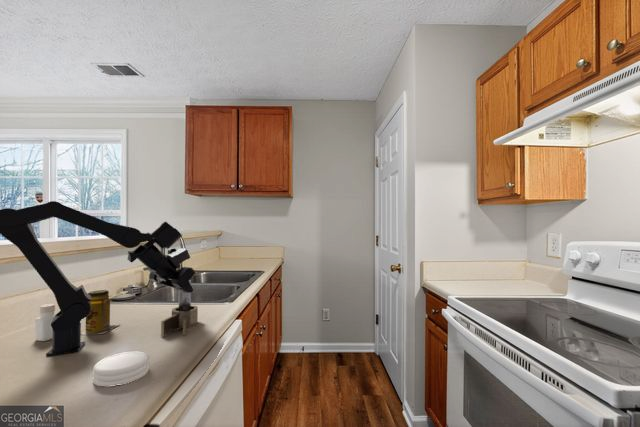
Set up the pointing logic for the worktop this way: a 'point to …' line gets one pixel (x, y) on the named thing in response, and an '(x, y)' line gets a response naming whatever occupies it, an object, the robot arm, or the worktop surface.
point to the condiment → (99, 314)
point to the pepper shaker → (45, 323)
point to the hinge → (179, 320)
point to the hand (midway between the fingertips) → (188, 290)
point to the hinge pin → (184, 300)
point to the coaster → (121, 368)
